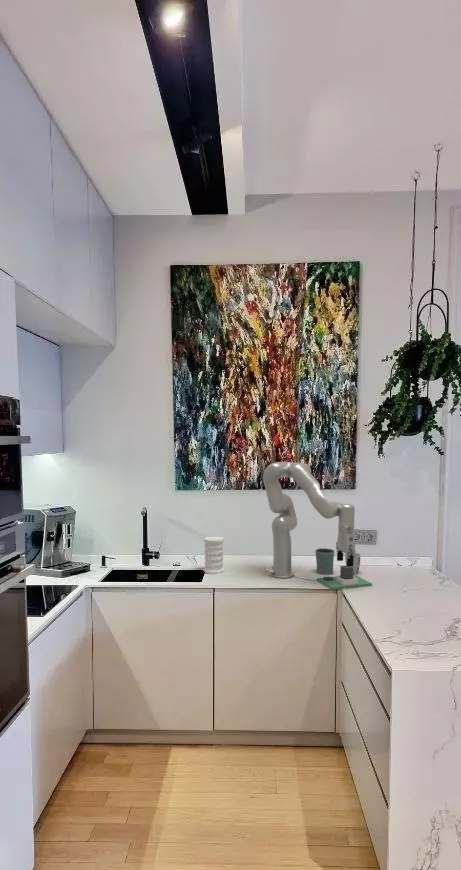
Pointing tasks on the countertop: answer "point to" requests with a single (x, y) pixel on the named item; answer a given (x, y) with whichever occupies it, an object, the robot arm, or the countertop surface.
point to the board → (343, 582)
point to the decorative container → (213, 555)
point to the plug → (346, 572)
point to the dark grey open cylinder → (324, 561)
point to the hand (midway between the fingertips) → (344, 563)
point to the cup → (354, 562)
